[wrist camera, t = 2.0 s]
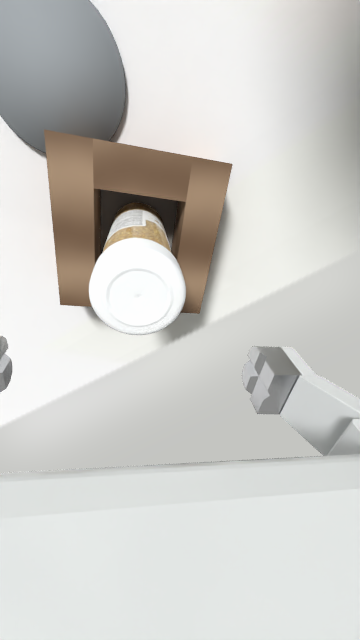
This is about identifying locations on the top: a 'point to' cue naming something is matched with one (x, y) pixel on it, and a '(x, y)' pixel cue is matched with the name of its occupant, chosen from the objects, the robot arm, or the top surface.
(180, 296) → the sprinkles bottle
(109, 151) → the holder block
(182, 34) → the top surface
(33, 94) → the coaster
